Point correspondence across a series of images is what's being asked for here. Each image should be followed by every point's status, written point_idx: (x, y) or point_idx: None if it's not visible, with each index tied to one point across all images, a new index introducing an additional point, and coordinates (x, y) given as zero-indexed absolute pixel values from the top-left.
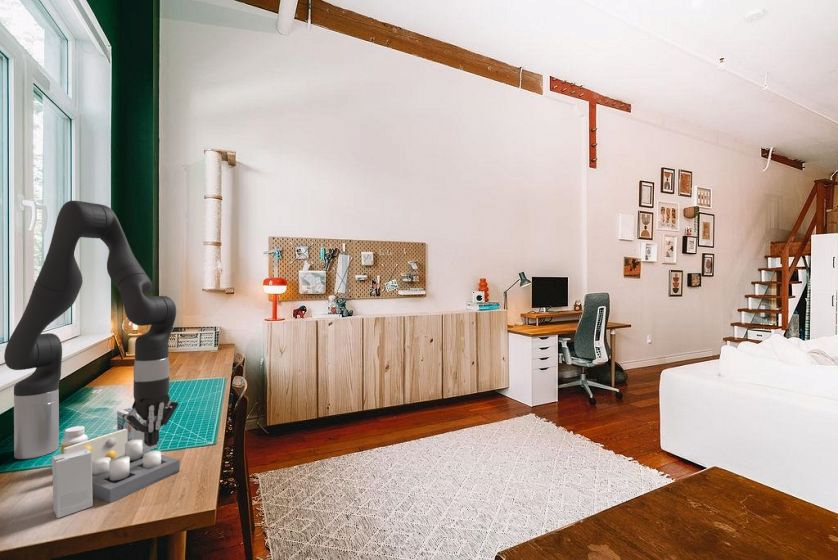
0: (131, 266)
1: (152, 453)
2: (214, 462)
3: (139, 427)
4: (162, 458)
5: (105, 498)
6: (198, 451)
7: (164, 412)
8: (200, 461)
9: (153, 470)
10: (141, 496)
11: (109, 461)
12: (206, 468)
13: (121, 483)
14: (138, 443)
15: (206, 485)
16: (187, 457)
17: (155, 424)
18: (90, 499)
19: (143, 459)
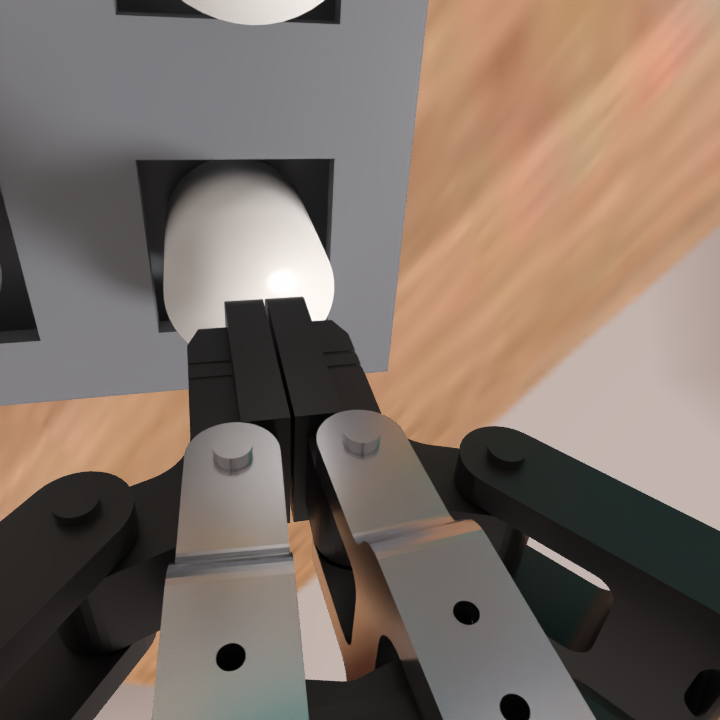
0: None
1: (264, 280)
2: (534, 382)
3: (16, 710)
4: (355, 227)
5: None
6: (682, 126)
7: (635, 622)
8: (529, 299)
9: (170, 382)
10: (27, 427)
11: None
12: (455, 411)
13: None
14: (260, 17)
15: (306, 557)
16: (570, 149)
17: (328, 606)
18: None
19: (164, 268)
